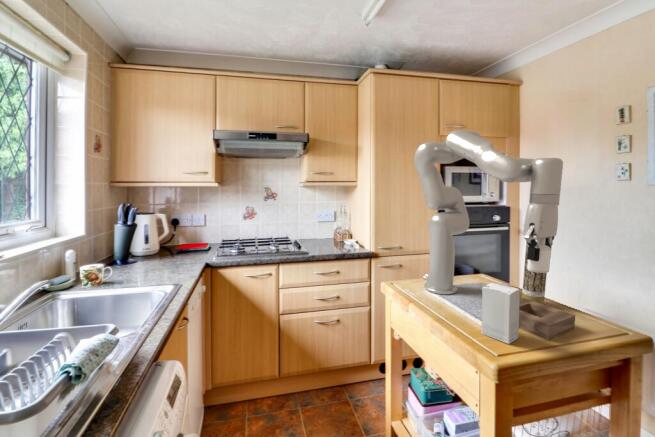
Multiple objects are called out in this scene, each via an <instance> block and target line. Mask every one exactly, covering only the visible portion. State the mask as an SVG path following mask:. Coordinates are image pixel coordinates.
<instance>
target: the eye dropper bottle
mask: <svg viewBox="0 0 655 437" xmlns="http://www.w3.org/2000/svg"><path fill="white" fill-rule="evenodd" d="M545 240H546V238H541V240H540V244H539V248H540V255H539V261H533V260H528V264H527V269H528V270H529V271H531V272H537V273H547V274H548V273H549V272H550V267H551V266H550V264H551V257H552V247H551V248H550V247H549V246H546V245H544V244H545ZM550 256H551V257H550Z"/></svg>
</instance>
